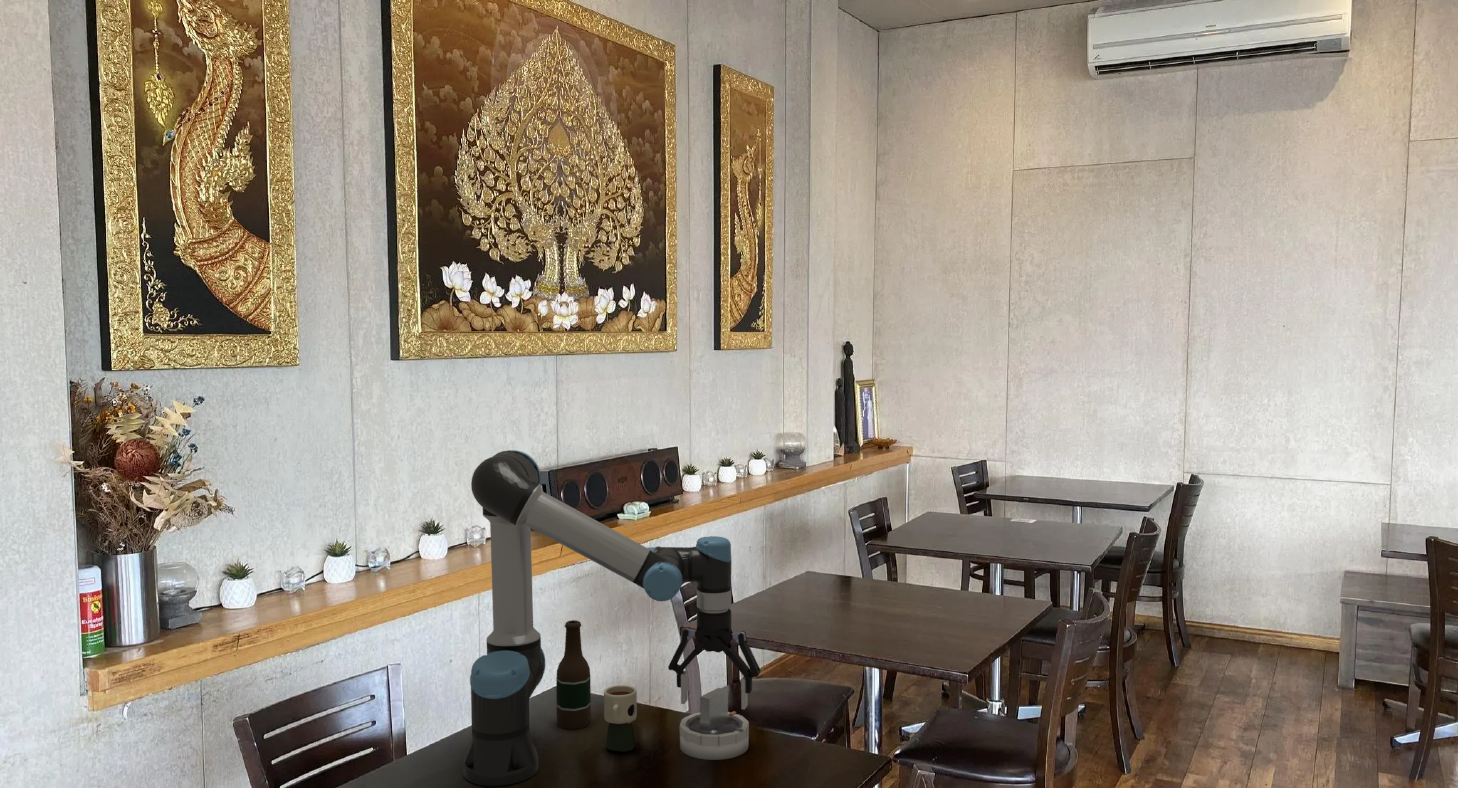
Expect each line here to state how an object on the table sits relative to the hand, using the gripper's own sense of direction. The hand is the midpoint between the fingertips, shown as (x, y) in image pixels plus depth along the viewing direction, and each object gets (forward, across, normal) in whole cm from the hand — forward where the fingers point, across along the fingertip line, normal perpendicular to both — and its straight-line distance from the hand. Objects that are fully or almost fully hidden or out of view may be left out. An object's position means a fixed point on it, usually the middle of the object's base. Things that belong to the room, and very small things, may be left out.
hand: (714, 704), depth 226 cm
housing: (+9, 0, 0) cm, 9 cm away
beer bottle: (+9, +35, -5) cm, 36 cm away
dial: (+6, 0, 0) cm, 6 cm away
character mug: (+9, +19, +6) cm, 22 cm away
